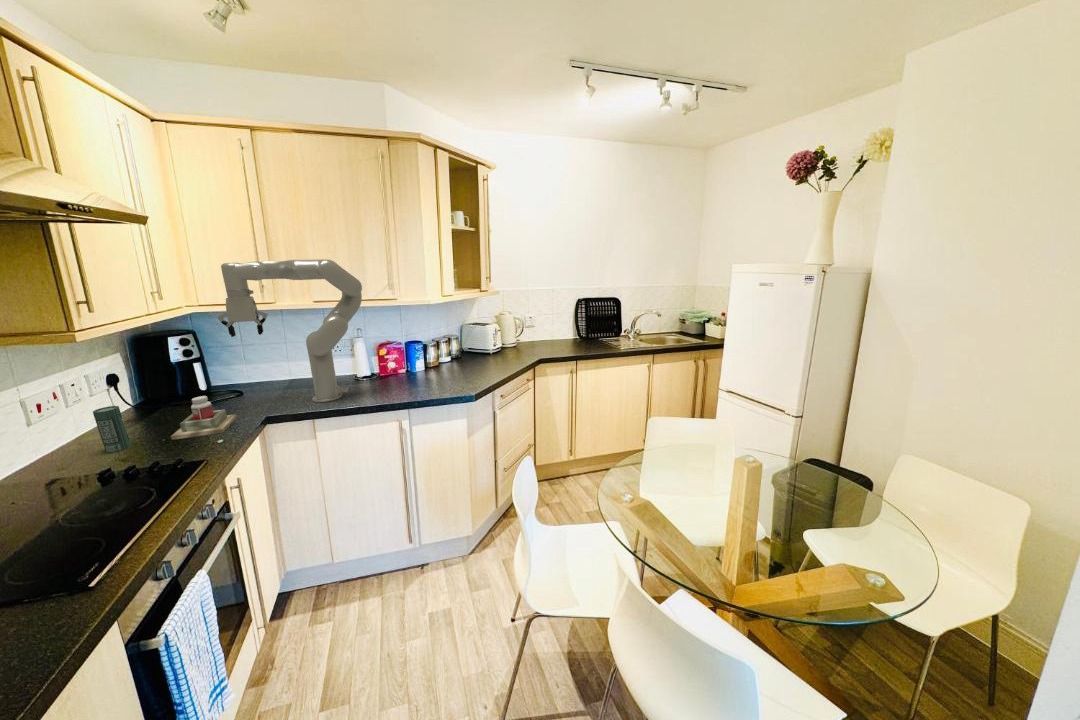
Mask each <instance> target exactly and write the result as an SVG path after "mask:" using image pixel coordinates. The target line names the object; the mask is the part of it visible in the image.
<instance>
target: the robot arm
mask: <svg viewBox="0 0 1080 720" xmlns="http://www.w3.org/2000/svg"><path fill="white" fill-rule="evenodd" d="M220 265H221V266H220V268H221V269H220V270H221V272H222V273H221V274H222V278H223V283H224V286H225V292H226V297H225V310H226V312H224V313H222V314H221V315H219V316H217V320H218V321H219V322H220V323H221V324H222V325H223V326H225V327H226V328H227V331H228V333H229V335H230V336H231V338H234V337H235V336H237V335H236V334H237V333H236V331H235V327H234V326H233V325H234V323H245V322H247V323H248V322H254V323H255V324H257V325H256V330H257V334H258V335H260V336H261V335H263V333H264V327H263V324H264V323H265V322H266V320H267V318H268V313H266V312H264V311H261V310H259V309H258V307H257V304H256V301H255V299H254V297H253V296H251V295H253V294H254V293H255V292H254V290H252V289H251V290H250V288H249V283H248V281H254V282H255V281H258V282H259V281H262V280H292V281H304V280H305V281H308V280H311V281H312V280H325V281H326V282H327V283H329V284H330V285H332V286H333V287H335V288H336V289H337V290H339V291H341V298H340V299H339V301H338V302H337V303H336V305H334V307H333V308H332V309H331V311H330V312H329V313H328V314H327V315H326V316H325V317H324V318H323V321H322V325H321V326H320V327H319V328H318V329H317V330H316V331H312V332H311V333H309V334H308V335H307V337H306V339H305V343H306V344H305V345H306V350H307V354H308V359H309V365H310V370H311V377H312V382H313V388H314V395H313V397H312V398H311V400H312V402H315V403H326V402H327V403H328V402H332V401H336V400H338V399H340V398H342V397H343V394H345V393H346V394H347V393H349V388H348V387H341V388H340V386H339V385H338V382H337V377H336V376H337V375H336V371H335V363H334V358H333V357H334V356H333V351H332V350H333V349H334V348H335V347H336V346H337V344H338V343H339V342H340V341H341V340H342V338H343V337H344V336H345V334H346V333H347V331H348V329H349V323H350V321H351V319H353V317H354V316H355V314H356V313H357V312H358V311H359V309H360V307H361V304H362V300H363V297H362V295H363V294H362V290H363V285H362V283H361V282H360V280H359V279H358V278H357V277H355V276H354V275H352V274H351V273H349V271H347V270H346V269H344V268H343V267H342V266H340V265H339V264H338V263H337V262H336V261H334V260H331V259H288V260H281V261H280V260H279V261H278V260H277V261H273V260H271V261H250V262H243V263H242V262H224V263H222V264H220ZM260 316H262V319H260ZM226 317H227V320H228V321H227V320H226V319H224V318H226Z"/></svg>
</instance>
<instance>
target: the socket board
mask: <svg viewBox="0 0 1080 720" xmlns="http://www.w3.org/2000/svg"><path fill="white" fill-rule="evenodd" d="M213 413H214V417H213V418H210V419H203V420H195V421H194V417H193V413H191V414H190V415H189V416H187V417H186V418H184V420H183V421H182V422H180V423H179V426H180V428H179V429H177V430H176V431H175V432H174V433H173V434H172V435H170V438H171V440H172V441H173V440H179V439H181V440H182V439H187V438H194V437H200V436H208V435H209V436H210V435H214V434H215V435H216V434H222V433H224V432H225V431H226V430H227V429H228V428H229V427H230V426H231V425H232V424H233V423H234V422H235V420H237V418H238V415H237V414H234V413H233V414H228V415H227V412H226V409H225V408H224V409H216V410H213ZM232 422H233V423H232ZM231 423H232V424H231ZM230 424H231V425H230Z"/></svg>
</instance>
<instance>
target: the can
mask: <svg viewBox="0 0 1080 720" xmlns="http://www.w3.org/2000/svg"><path fill="white" fill-rule="evenodd" d="M92 414H93V417H94V420H95V424H96V426H97V429H98V433H99V436H100V439H101V442H102V445H103V448H104V451H105V453H110V454H111V452H112V453H116V452H117V453H118V452H120V451H123V450H126V449H129V448H130V447H131V446H132V445H131V441H130V438H129V435H128V432H127V429H126V425H125V422H124V419H123V415H122V412H121V410H120V407H119V406H118V405H109V406H105V407H101V408H97V409H95V410H92Z"/></svg>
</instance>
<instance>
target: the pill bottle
mask: <svg viewBox="0 0 1080 720" xmlns="http://www.w3.org/2000/svg"><path fill="white" fill-rule="evenodd" d="M208 399H209V398H208V396H206V395H202V396H201V395H200V396H197V397H193V398H192V399H191V403H192V404H191V406H190V409H191V412H192V413H193V417H194V421H195V420H203V419H210V418H213V417H214V413H213V411H214V410H213V405H212V402H211V401H208ZM192 413H191V414H192Z"/></svg>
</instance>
